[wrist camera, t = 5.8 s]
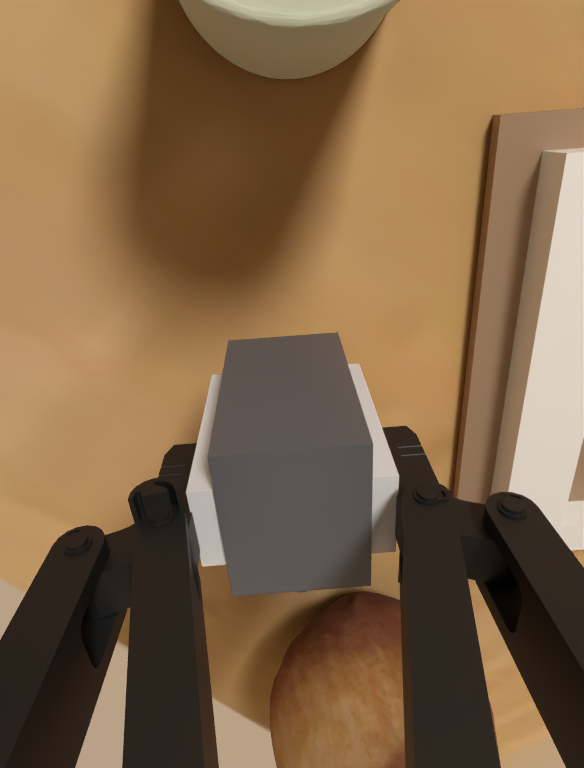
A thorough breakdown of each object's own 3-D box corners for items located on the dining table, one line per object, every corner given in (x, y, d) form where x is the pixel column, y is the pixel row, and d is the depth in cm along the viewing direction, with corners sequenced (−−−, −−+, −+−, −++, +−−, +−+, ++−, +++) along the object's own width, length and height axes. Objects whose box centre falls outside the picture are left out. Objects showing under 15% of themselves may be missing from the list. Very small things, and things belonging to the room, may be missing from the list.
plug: (248, 485, 21) (239, 636, 15) (228, 340, 18) (207, 456, 12) (340, 478, 21) (370, 625, 15) (337, 332, 18) (373, 443, 12)
